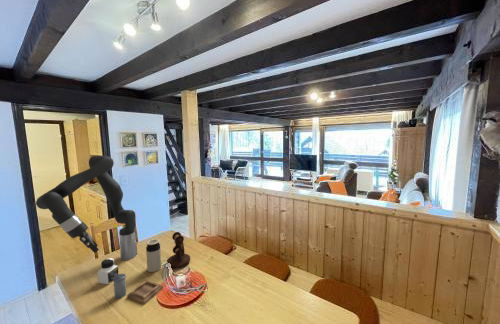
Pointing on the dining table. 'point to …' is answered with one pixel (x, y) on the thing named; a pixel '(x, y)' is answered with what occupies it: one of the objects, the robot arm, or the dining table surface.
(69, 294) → the dining table surface
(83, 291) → the dining table surface
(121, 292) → the blue-grey dome-topped cylinder
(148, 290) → the walnut socket
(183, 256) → the scroll
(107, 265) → the medicine bottle
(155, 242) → the travel mug
